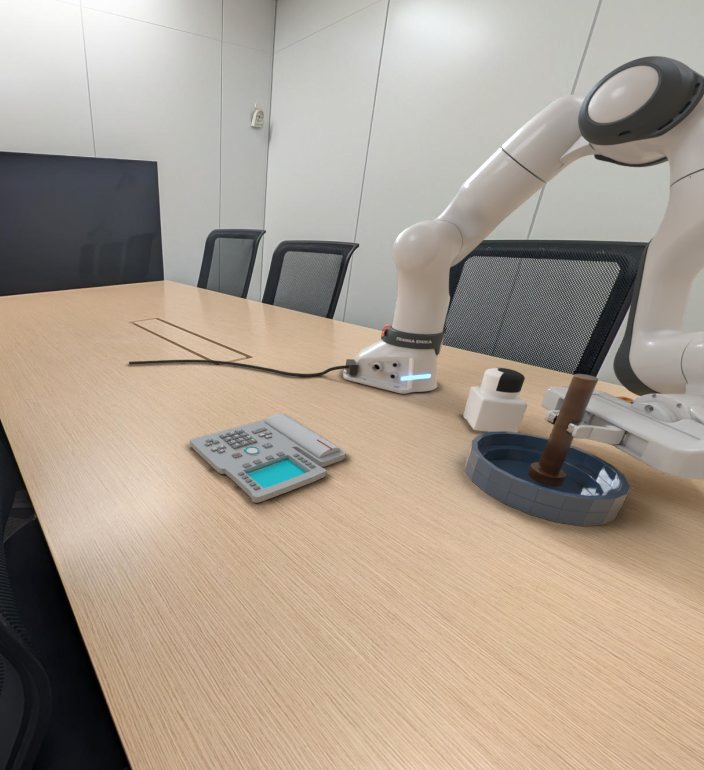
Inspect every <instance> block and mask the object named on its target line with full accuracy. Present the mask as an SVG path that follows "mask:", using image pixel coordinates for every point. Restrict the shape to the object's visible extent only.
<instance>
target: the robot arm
mask: <svg viewBox="0 0 704 770" xmlns="http://www.w3.org/2000/svg"><path fill="white" fill-rule="evenodd" d="M592 155H593V157H594V159H595V160H598V161H601V162H605V163H610V164H614V165H618V166H622V167H629V168H647V167H652V166H653V167H654V166H657V165H661V164H664V163H666V162H668V165H669V195H668V201H667V207H666V208H665V213H664V215H663V218H662V220H661V223H660V225H659V227H658V228H657V231H656V233H655V234H654V236H652V238H651V239H650V240H649V241H648V243H647V244H646V245H645V247H644V249H643V251H642V254H641V256H640V260H639V263H638V267H637V270H636V276H635V280H634V285H633V292H632V296H631V300H630V301H631V302H630V306H629V311H628V317H627V321H626V327H625V332H624V335H623V337H622V340H621V343H620V344H619V346H618V349H617V351H616V353H615V356H614V359H613V362H612V363H613V366H612V369H613V373H614V376H615V377H616V379H617V381H618V382H619V383H620V384H621V386H623V388H625V389H626V390H627V391H629V392H630V393H632V394H633V395H636V396H638V397H636V398H634V399H633V401H631V402H630V403H629V402H627V401H625V400H622V399H620V398H617V397H618V396H615V395H612V394H610V393H608V392H606V391H602V390H599V389H594V391H593V394H592V396H591V398H590V401H589V403H588V406H587V408H586V410H585V413H584V415H583V417H582V420H581V422H578V423H576V422H572V423H570V424H569V425H568V429H567V430H566V432H567V433H568V434H570V435H571V436H573V437H574V439H576V440H577V439H578V440H590V441H594V442H598V443H603V444H606V445H609V446H612V447H614V448H616V449H617V450H619V451H621V452H623V453H624V454H627V455H628V456H630V457H632V458H634V459H636V460H637V461H639V462H641V463H643V464H645V465H647V466H648V467H650V468H652V469H653V470H655V471H657V472H659V473H661V474H663V475H667V476H670V477H674V478H678V479H684V480H685V479H688V480H704V330H701V331H691V332H684V331H683V326H684V322H685V317H686V312H687V308H688V304H689V299H690V294H691V290H692V286H693V283H694V281H695V279H696V278H697V277H698V275H699V273H701V271H703V270H704V76H703V74H701V73H699V72H697V71H696V70H694V69H693V68H691V67H690V66H688V65H687V64H686V63H684V62H682V61H679V60H677V59H674V58H672V57H667V56H659V55H652V56H644V57H643V56H642V57H639V58H636V59H633V60H631V61H628V62H625V63H623V64H622V65H619V66H618V67H616V68H615V69H613V70H612V71H610V72H609V73H607V74H606V75H605V76H604V77H602V78H601V79H600V80H599V81H598V82H597V83H596V84H595V85H594V86H593V87H592V88H591V89H590V91H588V93H587V95H583V94H578V93H577V94H576V93H575V94H566V95H562V96H560V97H558V98H557V99H555V100H553V101H552V102H551V103H550V104H548V105H547V106H546V107H544V108H542V110H540V111H539V112H538V113H537V114H535V115H534V116H532V117H531V118H530V119H529V120H528V121H527V122H525V123H524V124H523V125H522V126H521V127H520V128H518V130H516V131H515V132H514V133H513V134H512V135H511V136H510V137H509V138H507V140H506V141H505V142H503V143H502V144H501V146H499V147H498V148H497V149H496V150H495V151H494V152H493V153H492V154H491V155H490V156H489V157H488V158H487V159H486V160H485V161H484V162H483V163H482V164H481V165H480V166H479V167H478V168H477V169H476V170H475V171H474V172H473V173H472V174H471V175H470V176H469V177H468V178H467V179H466V180H465V181H464V182H463V183H462V185H461V186H460V188H459V189H458V191H457V193H456V194H455V196H454V197H453V198H452V200H451V201H450V203H449V204H448V205H447V206H446V208H445V209H444V210H443V211H442V212H441V213H440V214H439V216H437V217H436V218H435V219H433V220H421V221H419V222H416V223H414V224H411V226H409V227H407V228H405V229H404V230H403V231H402V232H401V233H399V234H398V236H397V237H396V239H395V240H394V242H393V246H392V247H391V249H392V250H391V256H392V260H393V262H394V264H395V268H396V301H395V306H394V313H393V319H392V324H390V323H386V324H384V326H383V327H382V330H381V335H380V339H379V340H378V341H376V342H374V343H371V344H370V345H368V346H366V347H364V348H362V349H361V350H359V352H358V353H357V354H356V356H355V358H354V359H353V358H346V359H345V365H344V364H343V365H337V366H336V365H335V366H332V367H329V368H327V369H324V370H323V371H319V372H314V373H299V372H289V371H284V370H279V369H275V368H270V367H264V366H258V365H253V364H248V363H241V362H234V361H227V360H226V361H225V360H217V359H216V360H214V359H160V360H133V361H128V365H150V364H172V363H174V364H175V363H176V364H177V363H178V364H179V363H198V364H199V363H200V364H201V363H202V364H218V365H229V366H235V367H241V368H248V369H254V370H259V371H264V372H269V373H275V374H279V375H284V376H289V377H297V378H299V377H300V378H314V377H321V376H324V375H327V374H328V373H330V372H332V371H337V370H343V373H342V377H343V379H344V380H346V381H349V382H353V383H356V384H357V383H358V384H361V385H365V386H369V387H373V388H377V389H381V390H385V391H390V392H393V393H398V394H400V395H401V394H403V395H405V394H410V393H423V392H430V391H433V390H436V389H437V388H438V378H437V377H438V376H437V375H438V374H437V373H438V371H437V370H438V357H439V355H440V353H441V352H442V347H443V344H444V338H445V331H444V328H445V323H446V319H447V316H448V315H447V314H448V311H449V306H450V301H451V294H450V270H451V268H452V267H454V266H456V265H457V264H459V263H460V262H461V261H463V260H464V259H465V258H466V257H467V256H468V255H470V254H471V253H472V252H473V251H474V250H475V249H476V248H477V247H478V246H479V245H480V244H482V242H483V241H484V240H485V239H486V238H487V237H488V236H489V235H490V234H491V233H492V232H493V231H494V230H496V228H498V226H499V225H500V224H501V223H502V222H503V221H505V220H506V219H507V218H508V217H509V216H510V215H511V214H513V212H515V211H516V210H517V209H518V208H519V207H521V206H522V205H523V204H524V203H526V202H527V201H529V199H530V198H531V197H532V196H534V195H535V194H536V193H537V192H539V191H540V190H541V189H543V188H544V186H546V185H547V184H548V183H549V182H550V181H552V180H553V179H554V178H555V177H556V176H557V175H559V174H560V173H561V172H562V171H563V170H564V169H566V168H567V167H568V166H570V165H571V164H572V163H574V162H576V161H577V160H579V159H581V158H584V157H587V156H592ZM568 388H569V386H555V385H554V386H550V387H549V388H547V389H546V390H545V393H544V395H543V398H542V401H541V407H542V408H543V409H545V410H547V412H546V414H545V417H544V421H546V422H547V423H548V424H549V423H550V424H551V425H553V426H554V424H555V421H556V419H557V416H558V414H559V411H560V408H561V406H562V403H563V401H564V398H565V396H566V393H567V391H568Z"/></svg>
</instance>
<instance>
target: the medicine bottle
mask: <svg viewBox="0 0 704 770" xmlns="http://www.w3.org/2000/svg"><path fill="white" fill-rule="evenodd" d="M525 379H526V377H525V375H524V374H523V373H521V372H519V371H517V370H514V369H511V368H507V367H492V368H488V369H485V370H484V373H483V377H482V379H481V383H480V386H474V385H473V386H471V387H470V390H469V393H468V396H467V399H466V403H465V407H464V411H463V414H462V417H463V419H464V420H466V421H467V422H468V424H469V425H470V427H471V428H472V430H474V431H481V432H498V431H508V432H518V433H519V431H520V428H521V425H522V423H523V419H524V416H525V413H526V411H527V408H528V403H527V402H526V401H525V400H524V399H523V398H521V397H520V394H521V392H522V388H523V385H524V383H525Z"/></svg>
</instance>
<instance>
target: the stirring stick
mask: <svg viewBox="0 0 704 770" xmlns="http://www.w3.org/2000/svg"><path fill="white" fill-rule="evenodd" d="M598 382H599V378H598V377H596V376H594V375H590V374H583V373H575V374H573V375H572V378H571V380H570V384H569V386H568V387H569V388H568V391H567V393H566V396H565V398H564V401H563V403H562V406H561V408H560V411H559V414H558V416H557V419H556V421H555V424H554V425H553V427H552V429H551V432H550V434H549V437H548V438H549V439H548V442H547V444H546V447H545V449H544V452H543V455H542V457H541V460H540V462H535V463H532V464H531V466H530V468H529V471H528V476H529V477H530V478H531V479H533V480H534V481H536V482H538V483H541V484H544V485H547V486H553V487H559V486H562V485H563V482H564V480H565V478H566V473H565V472H564V471H563V470H561V467H562V465H563V463H564V460H565V458H566V456H567V453H568V451H569V448H570V446H571V445H572V443H573V441H574V439H575V437H573V436H571V435H570V434H568V433H567V432H566V430H567V429H568V425H569V424H570V423H572V422H576V423H578V422H581V420H582V417H583V415H584V413H585V410H586V408H587V406H588V403H589V401H590V398H591V396H592V394H593V391H594V389H595V388H596V386H597V384H598ZM595 390H596V389H595Z"/></svg>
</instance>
